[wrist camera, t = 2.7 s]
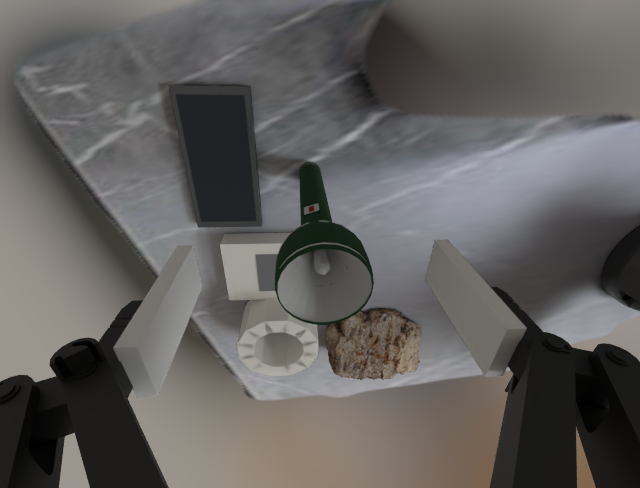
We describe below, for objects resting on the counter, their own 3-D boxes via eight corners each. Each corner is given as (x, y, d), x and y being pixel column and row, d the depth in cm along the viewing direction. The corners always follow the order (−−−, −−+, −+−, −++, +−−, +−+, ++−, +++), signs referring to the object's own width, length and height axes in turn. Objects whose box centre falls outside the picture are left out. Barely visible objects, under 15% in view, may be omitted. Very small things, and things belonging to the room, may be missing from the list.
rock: (318, 350, 47) (321, 384, 42) (333, 300, 42) (338, 331, 37) (409, 359, 49) (422, 391, 44) (433, 312, 44) (451, 343, 39)
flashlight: (325, 140, 31) (362, 231, 13) (339, 185, 33) (384, 311, 16) (278, 156, 31) (256, 263, 14) (295, 199, 34) (293, 336, 16)
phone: (250, 86, 28) (248, 86, 27) (262, 222, 35) (261, 226, 34) (172, 84, 27) (168, 85, 26) (200, 223, 34) (197, 227, 33)
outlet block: (326, 232, 36) (331, 262, 30) (323, 335, 45) (326, 373, 39) (224, 233, 35) (210, 264, 30) (241, 338, 44) (233, 378, 38)
